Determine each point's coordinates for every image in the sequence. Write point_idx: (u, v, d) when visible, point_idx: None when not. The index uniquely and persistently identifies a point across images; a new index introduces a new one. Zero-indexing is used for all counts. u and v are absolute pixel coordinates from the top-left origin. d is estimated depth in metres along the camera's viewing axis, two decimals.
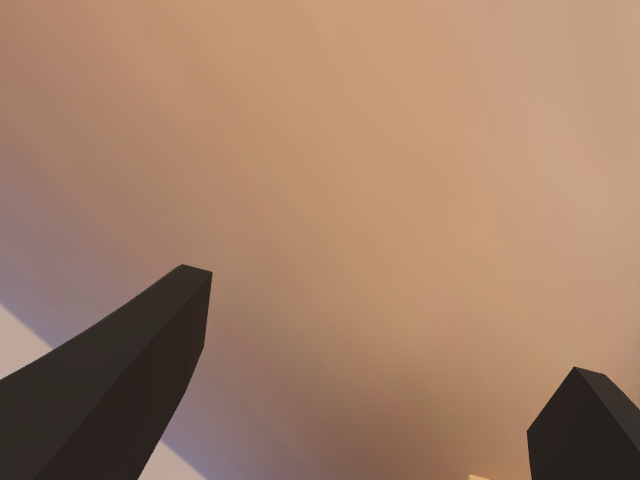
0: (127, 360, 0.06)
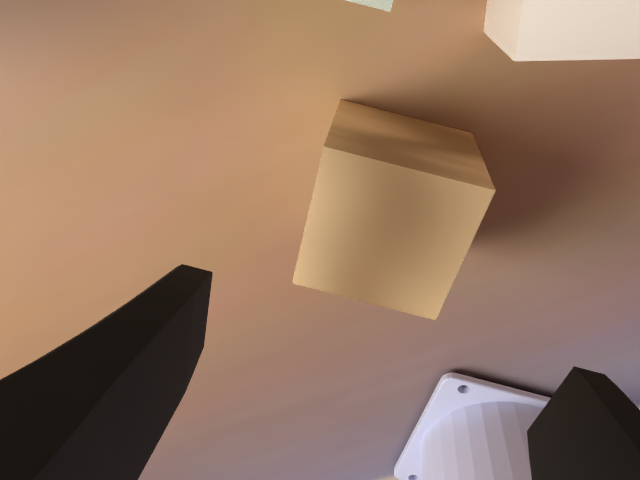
0: (127, 360, 0.06)
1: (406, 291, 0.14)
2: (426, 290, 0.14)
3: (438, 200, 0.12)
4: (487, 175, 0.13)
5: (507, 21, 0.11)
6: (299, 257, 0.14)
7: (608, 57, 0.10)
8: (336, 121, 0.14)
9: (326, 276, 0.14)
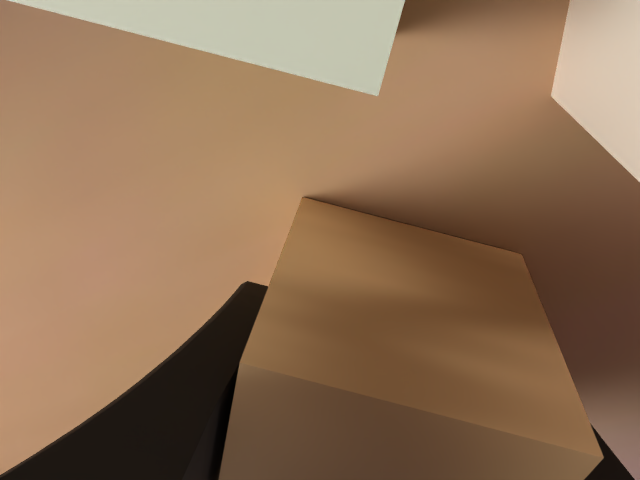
0: (220, 384, 0.06)
1: None
2: None
3: (478, 461, 0.06)
4: (575, 396, 0.07)
5: None
6: None
7: None
8: (284, 266, 0.08)
9: None
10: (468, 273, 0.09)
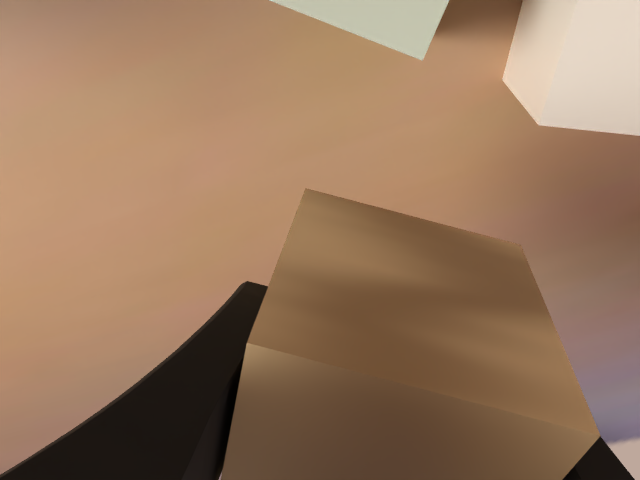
0: (220, 384, 0.06)
1: None
2: None
3: (479, 441, 0.06)
4: (572, 377, 0.07)
5: (533, 82, 0.12)
6: None
7: (628, 132, 0.11)
8: (288, 253, 0.08)
9: None
10: (468, 262, 0.09)
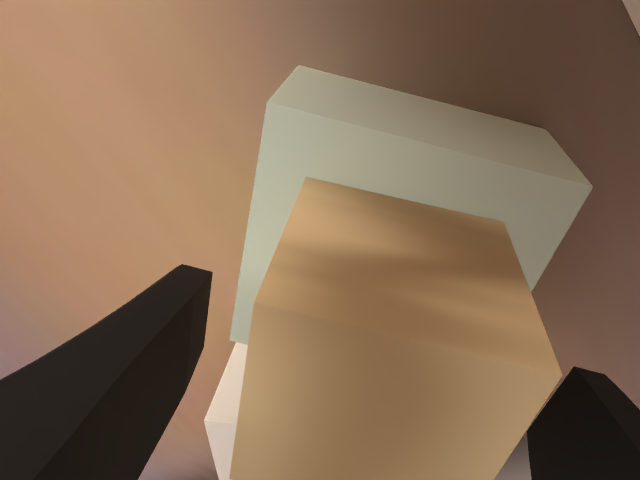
0: (127, 360, 0.06)
1: None
2: None
3: (458, 384, 0.07)
4: (542, 330, 0.08)
5: (236, 389, 0.16)
6: (235, 449, 0.09)
7: (215, 459, 0.16)
8: (289, 231, 0.09)
9: (280, 473, 0.09)
10: (453, 237, 0.10)
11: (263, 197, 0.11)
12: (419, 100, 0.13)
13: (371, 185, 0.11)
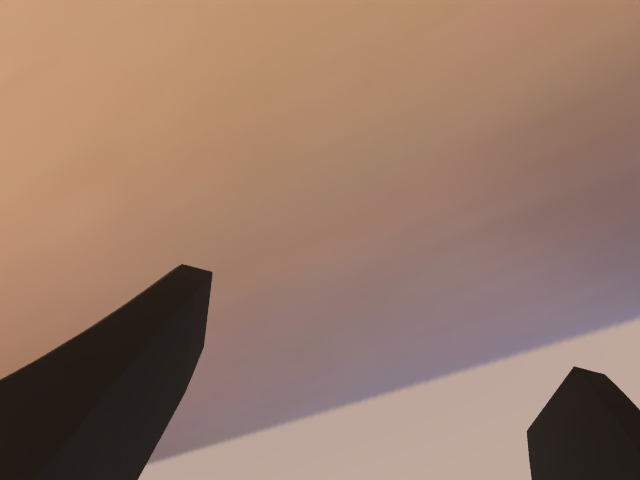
0: (127, 360, 0.06)
1: None
2: None
3: None
4: None
5: None
6: None
7: None
8: None
9: None
10: None
11: None
12: None
13: None
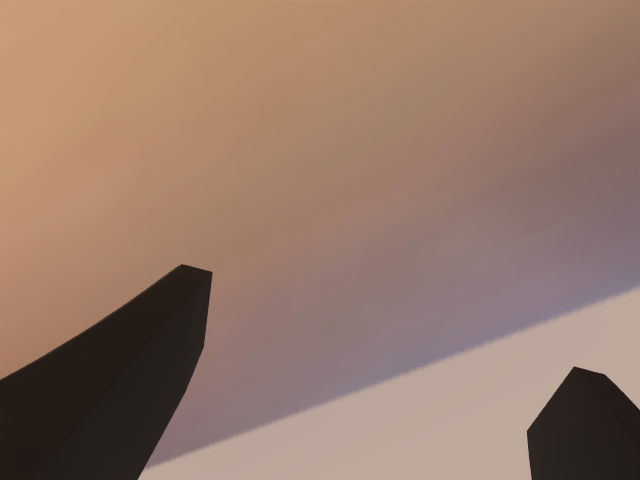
0: (127, 360, 0.06)
1: None
2: None
3: None
4: None
5: None
6: None
7: None
8: None
9: None
10: None
11: None
12: None
13: None
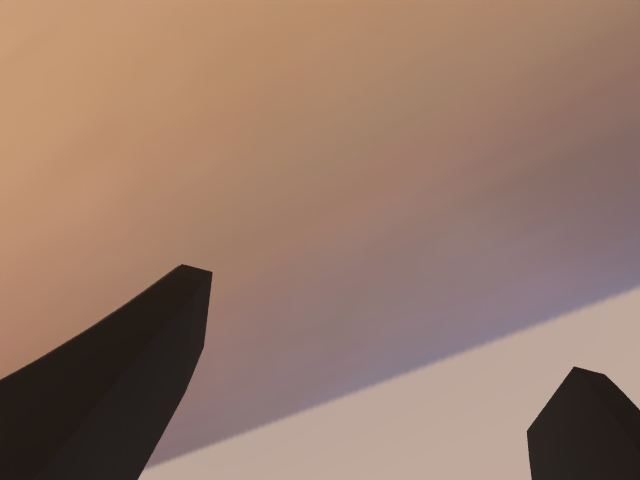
0: (127, 360, 0.06)
1: None
2: None
3: None
4: None
5: None
6: None
7: None
8: None
9: None
10: None
11: None
12: None
13: None
